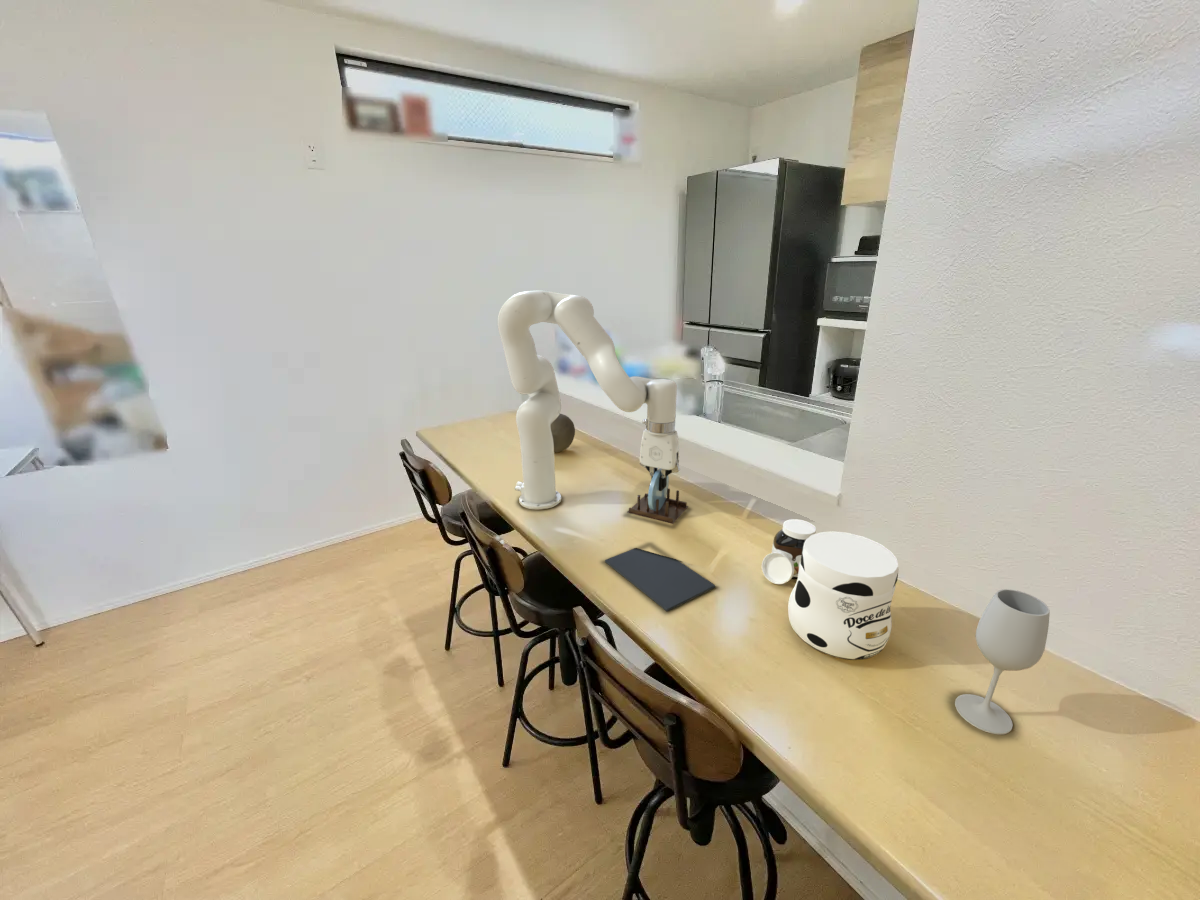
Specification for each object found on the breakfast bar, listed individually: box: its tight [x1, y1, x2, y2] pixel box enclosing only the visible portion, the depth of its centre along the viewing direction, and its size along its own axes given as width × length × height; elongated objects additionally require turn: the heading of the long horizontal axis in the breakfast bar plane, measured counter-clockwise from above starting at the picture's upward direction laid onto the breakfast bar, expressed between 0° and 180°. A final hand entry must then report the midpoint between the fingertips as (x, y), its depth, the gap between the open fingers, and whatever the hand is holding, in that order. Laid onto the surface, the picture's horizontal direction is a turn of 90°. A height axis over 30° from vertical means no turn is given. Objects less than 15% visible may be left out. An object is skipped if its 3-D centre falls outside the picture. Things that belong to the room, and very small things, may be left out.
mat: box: [604, 547, 716, 612], centre depth 112 cm, size 22×14×1 cm, turn 34°
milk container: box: [787, 530, 899, 661], centre depth 90 cm, size 17×17×18 cm
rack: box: [626, 484, 689, 525], centre depth 139 cm, size 14×12×6 cm
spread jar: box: [761, 518, 817, 585], centre depth 109 cm, size 12×11×12 cm
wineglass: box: [954, 588, 1051, 736], centre depth 73 cm, size 8×8×21 cm
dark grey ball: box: [551, 413, 576, 453], centre depth 184 cm, size 14×14×15 cm
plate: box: [647, 468, 670, 511], centre depth 138 cm, size 1×12×12 cm, turn 150°
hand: (658, 488), depth 138 cm, fingers closed on plate, 1 cm apart
